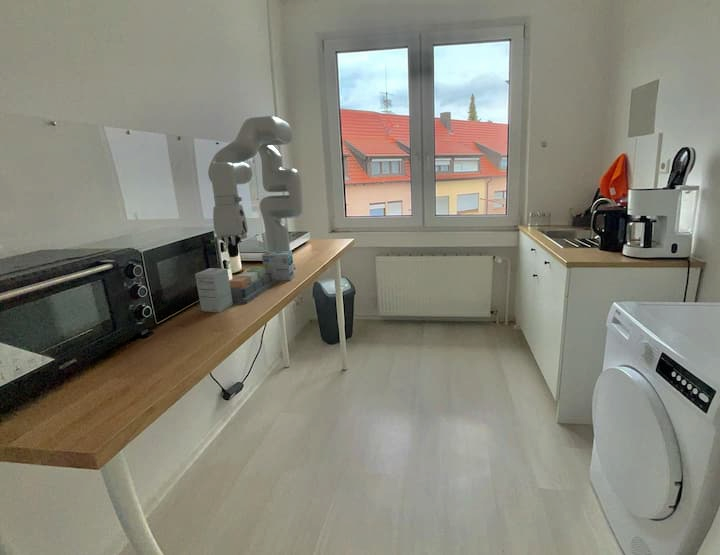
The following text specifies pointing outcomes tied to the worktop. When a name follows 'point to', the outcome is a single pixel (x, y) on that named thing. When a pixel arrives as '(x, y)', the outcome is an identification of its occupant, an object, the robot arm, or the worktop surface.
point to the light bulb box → (279, 265)
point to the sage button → (258, 271)
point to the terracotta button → (239, 282)
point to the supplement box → (214, 289)
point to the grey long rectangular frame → (252, 289)
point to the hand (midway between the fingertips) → (234, 256)
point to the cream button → (250, 276)
